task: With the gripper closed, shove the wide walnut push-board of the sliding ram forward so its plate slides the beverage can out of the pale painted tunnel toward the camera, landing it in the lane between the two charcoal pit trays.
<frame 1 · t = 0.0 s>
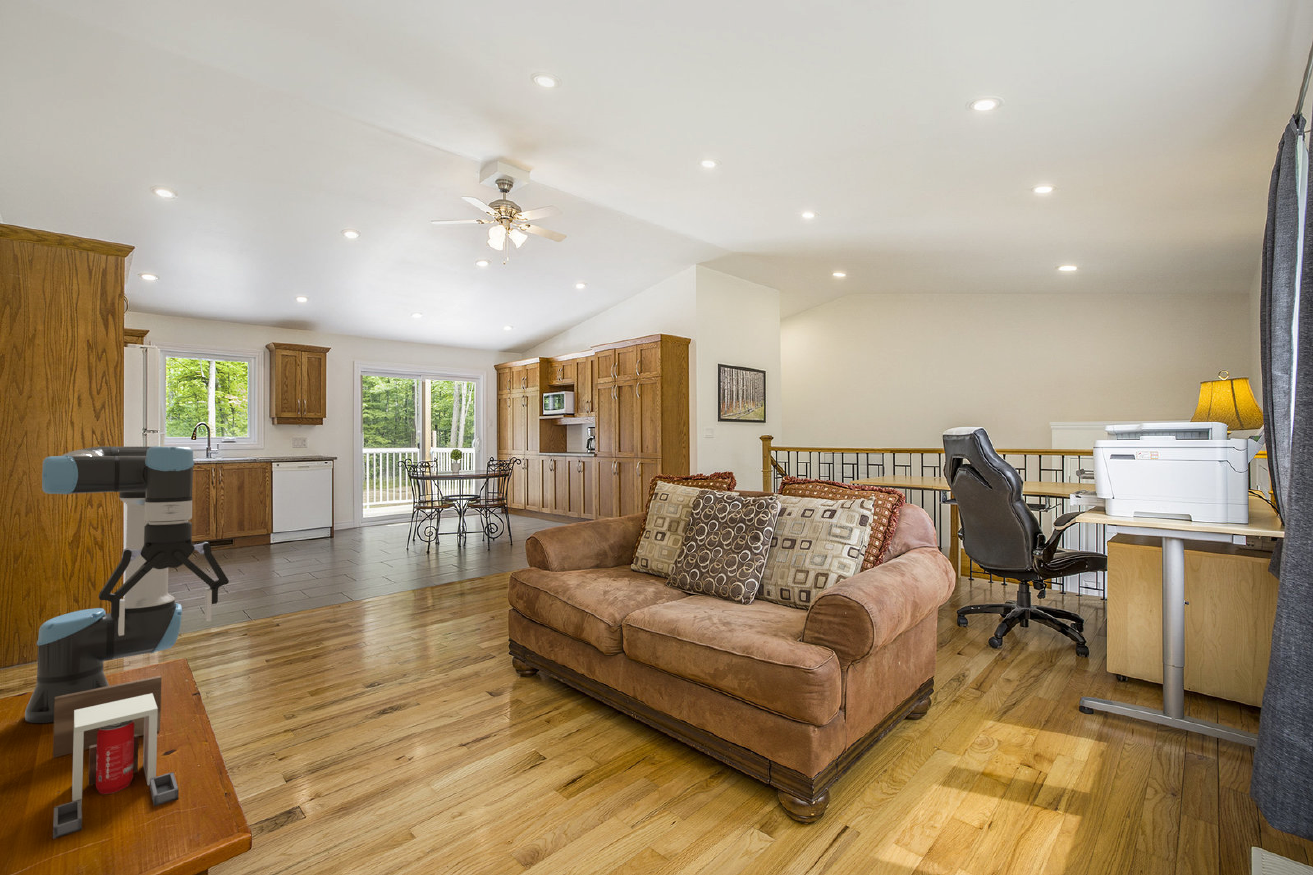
hand: (166, 627, 120), 28 cm above the table, fingers open, 13 cm apart
beverage can: (114, 788, 112), on the table
ram: (111, 729, 122), point 6 cm above the table, slide at 0.0 cm
pit 2: (163, 793, 110), on the table
tunnel: (114, 784, 113), on the table
pit 1: (67, 823, 101), on the table
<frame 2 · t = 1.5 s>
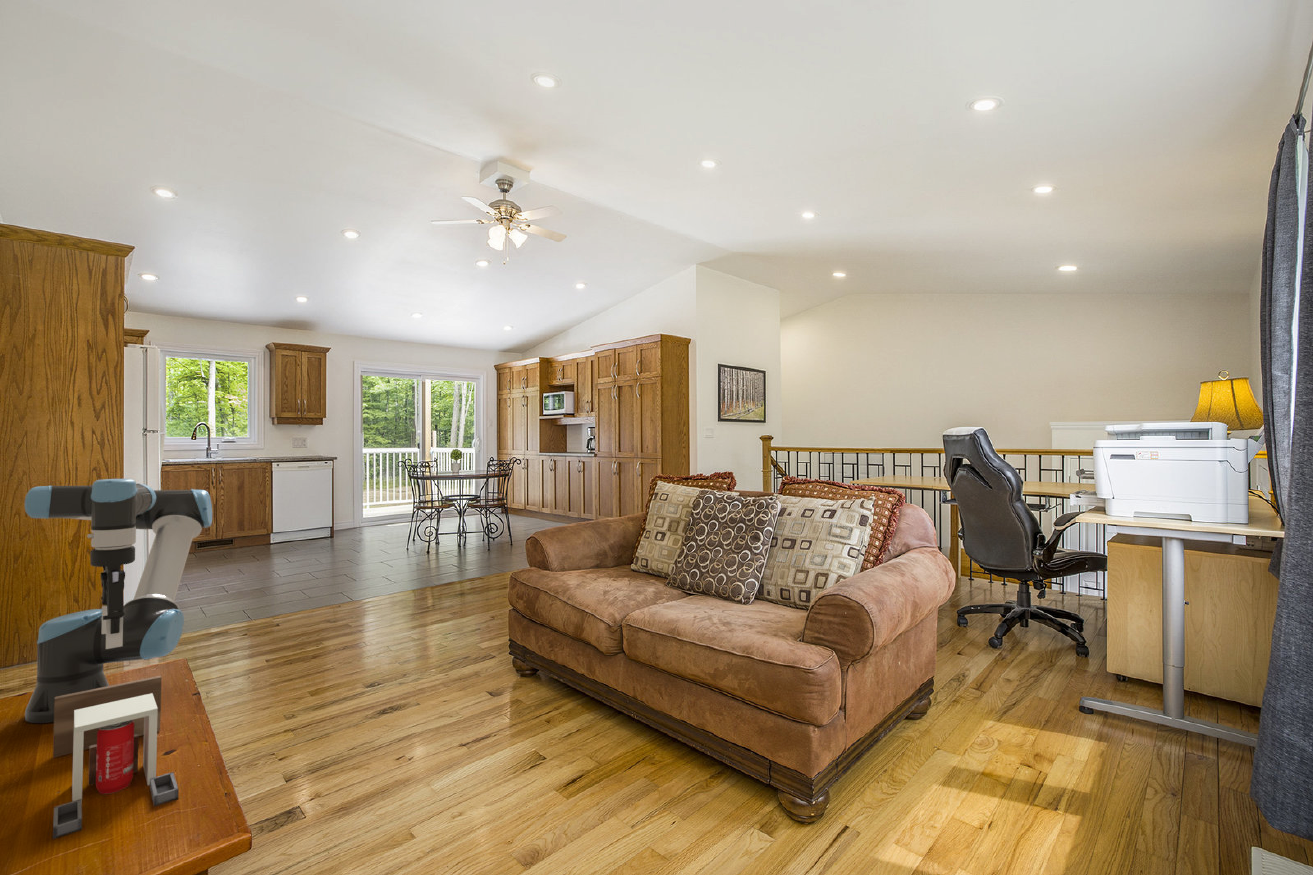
hand: (111, 640, 135), 20 cm above the table, fingers open, 13 cm apart
nothing on the table moved.
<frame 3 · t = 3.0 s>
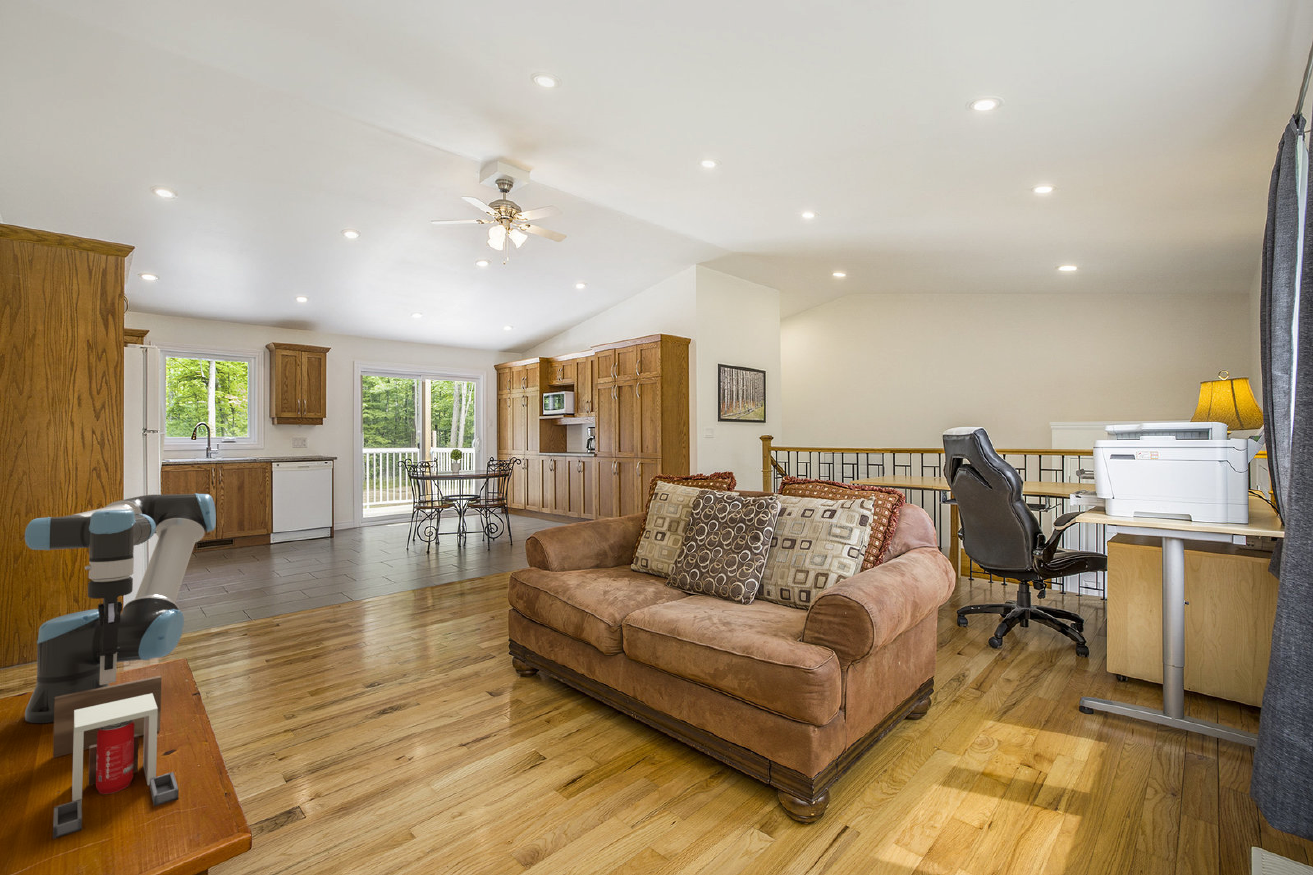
hand: (107, 682, 134), 11 cm above the table, fingers closed
nothing on the table moved.
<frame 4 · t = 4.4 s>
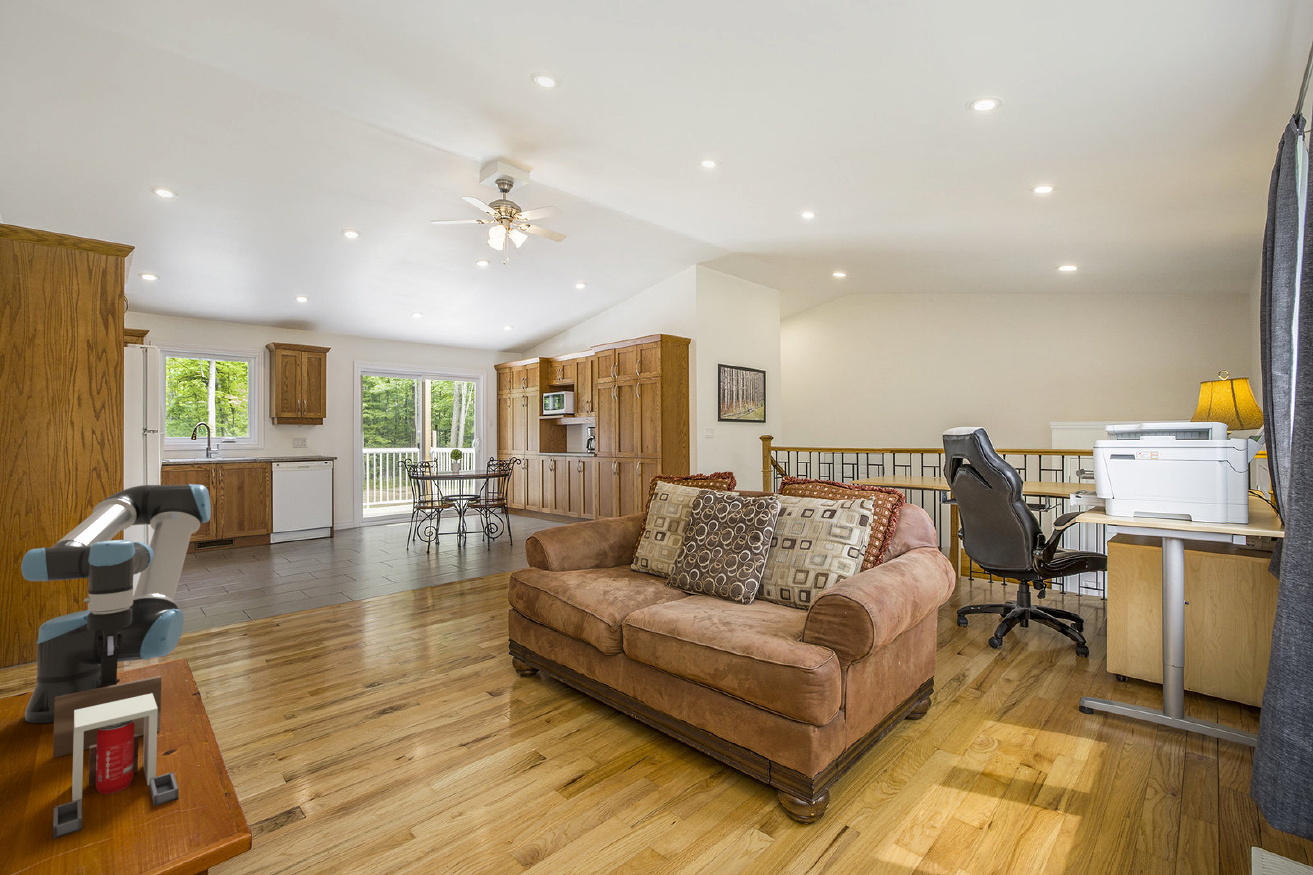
hand: (107, 715, 133), 4 cm above the table, fingers closed
nothing on the table moved.
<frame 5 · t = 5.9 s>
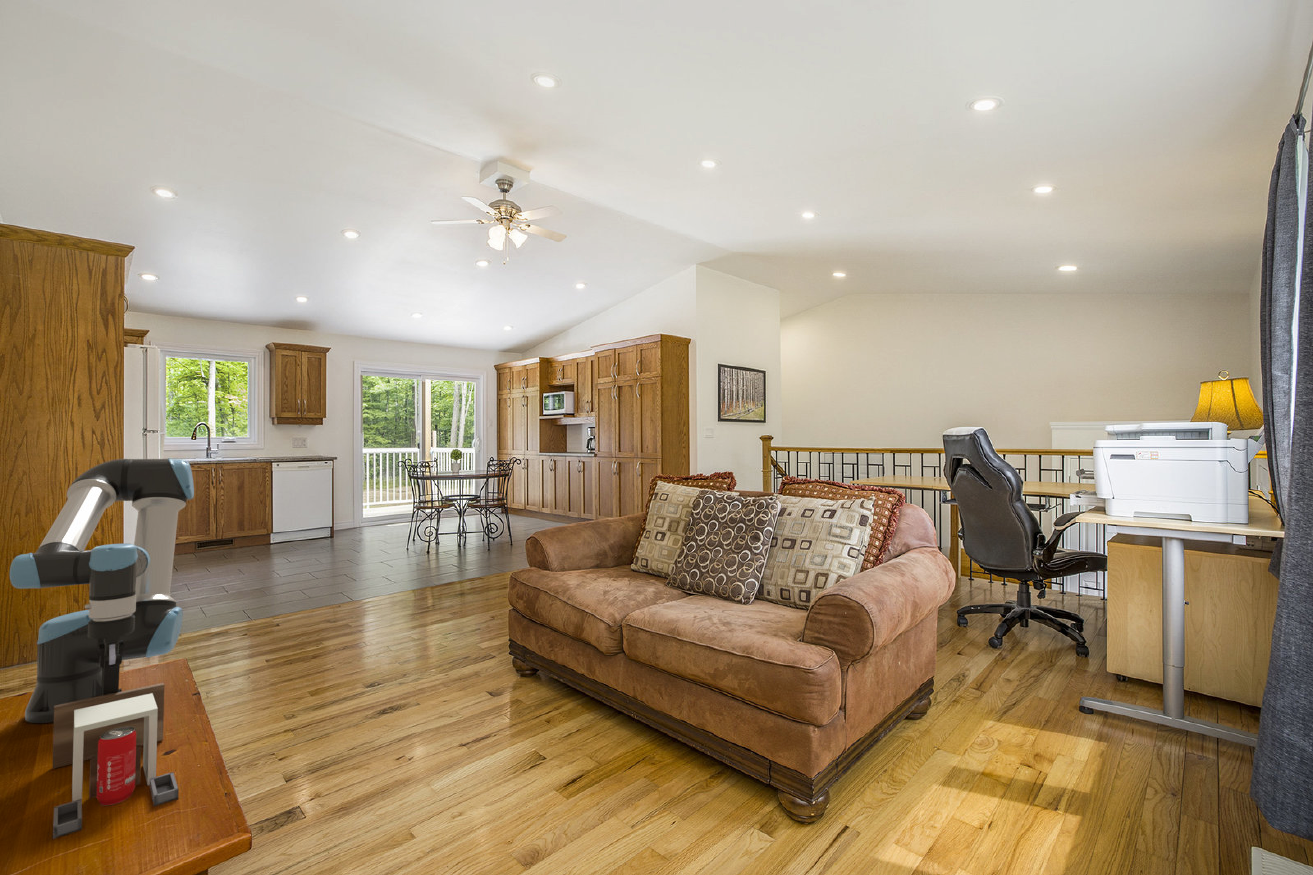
hand: (108, 726, 127), 4 cm above the table, fingers closed
beverage can: (116, 799, 108), on the table, touching ram
ram: (113, 739, 118), point 6 cm above the table, slide at 5.9 cm, touching beverage can, hand
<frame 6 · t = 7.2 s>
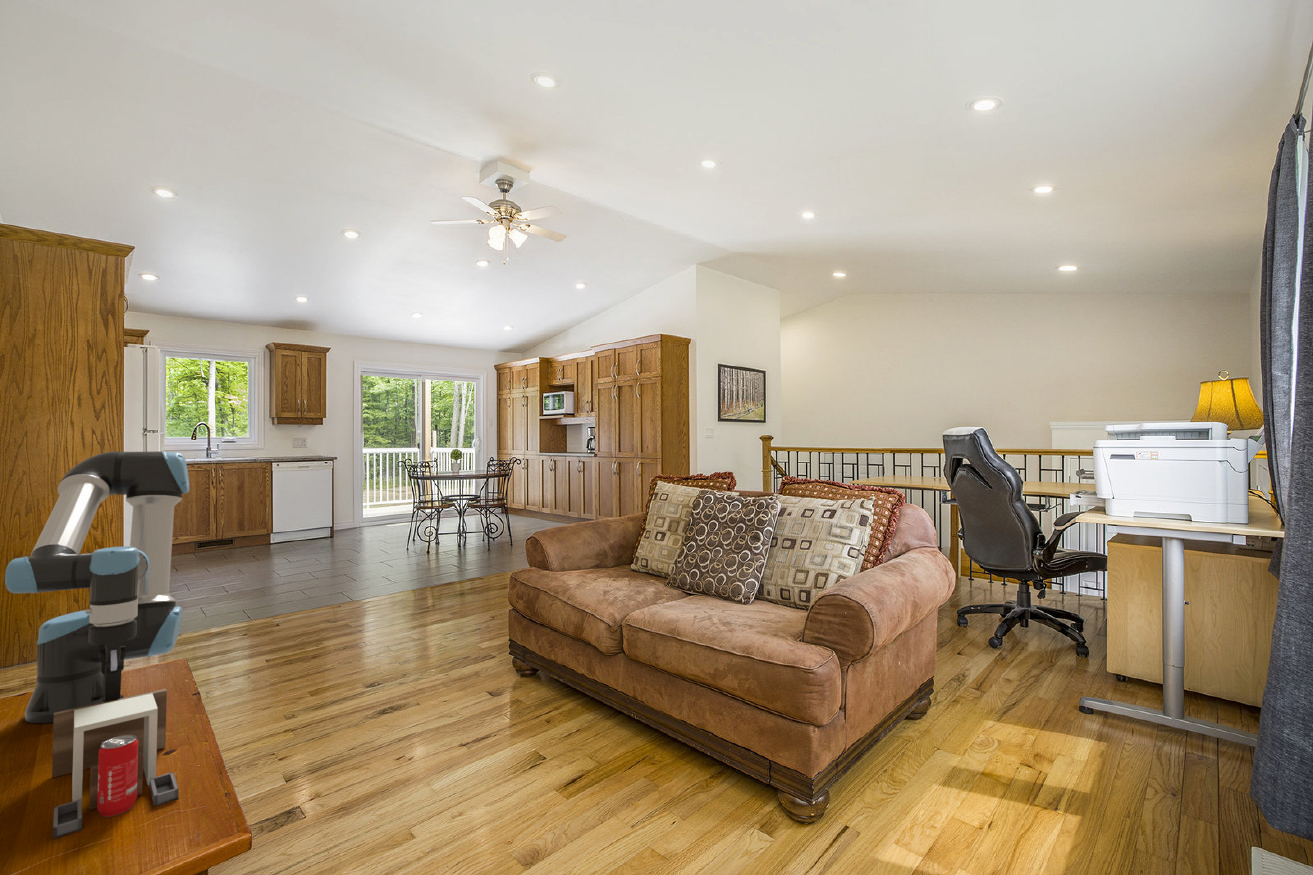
hand: (110, 734, 124), 4 cm above the table, fingers closed
beverage can: (117, 810, 105), on the table, touching ram
ram: (114, 747, 114), point 6 cm above the table, slide at 10.4 cm, touching beverage can
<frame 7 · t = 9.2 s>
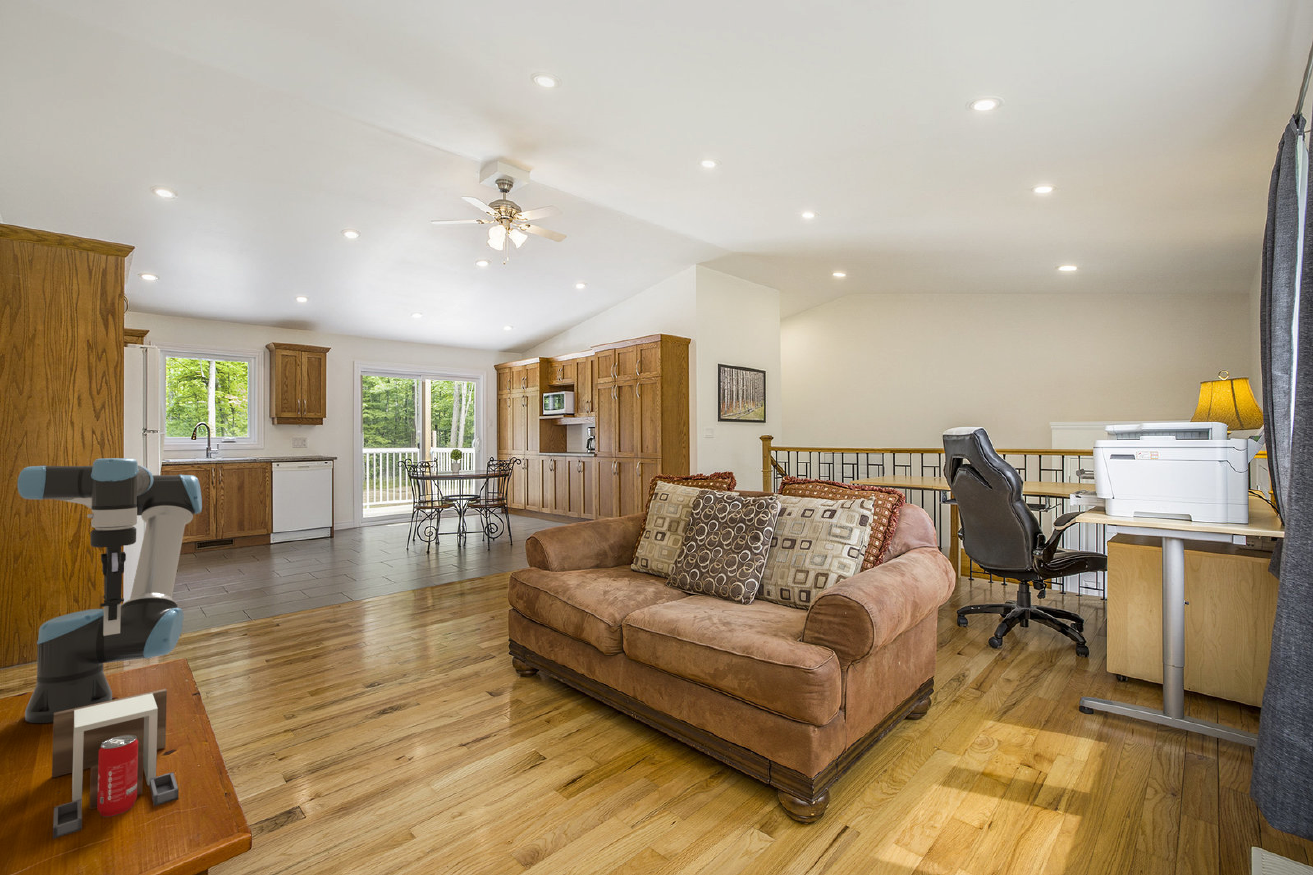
hand: (111, 633, 131), 23 cm above the table, fingers closed
nothing on the table moved.
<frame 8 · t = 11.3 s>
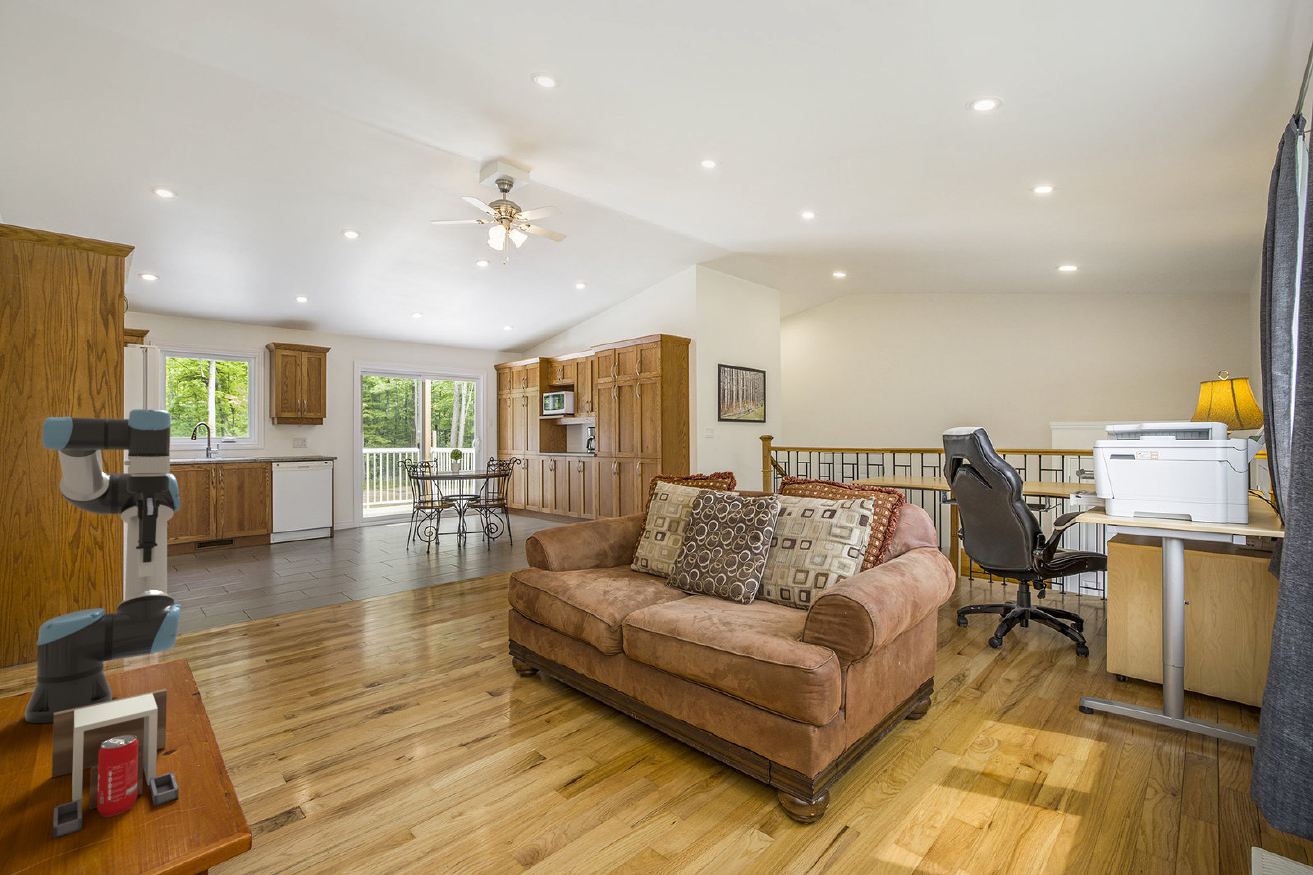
hand: (146, 575, 139), 34 cm above the table, fingers closed
nothing on the table moved.
at the end: beverage can inside the target area (0.0 cm from its centre), on the table; beverage can tilted 0°; ram slide at 10.4 cm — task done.
